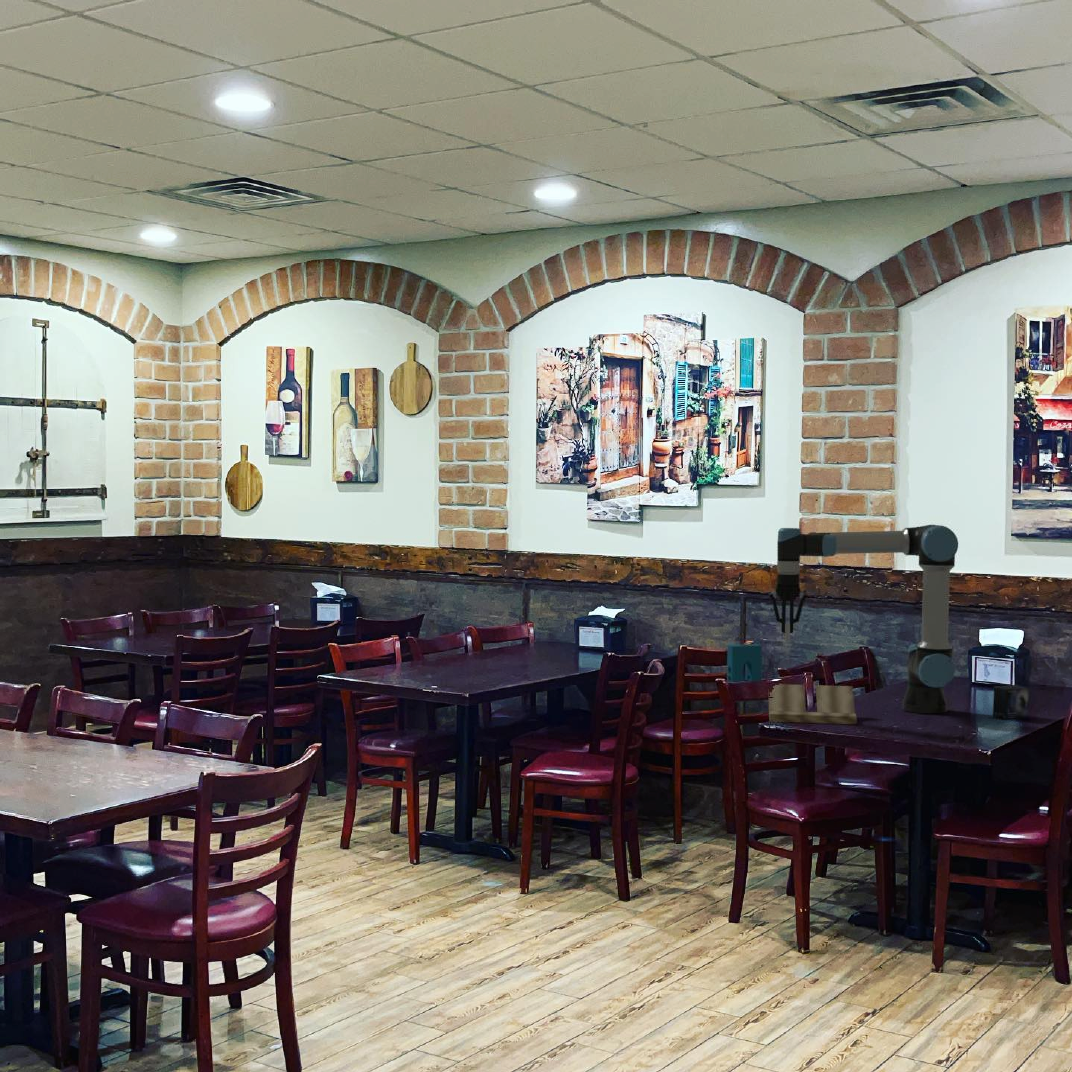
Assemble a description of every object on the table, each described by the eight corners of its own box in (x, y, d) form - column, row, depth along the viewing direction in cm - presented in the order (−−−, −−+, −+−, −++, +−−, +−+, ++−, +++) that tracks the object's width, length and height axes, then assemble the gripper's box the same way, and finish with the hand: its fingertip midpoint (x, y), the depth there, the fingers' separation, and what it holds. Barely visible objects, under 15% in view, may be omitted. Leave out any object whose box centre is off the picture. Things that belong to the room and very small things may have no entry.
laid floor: (854, 721, 450) (855, 713, 450) (856, 724, 444) (856, 716, 444) (769, 718, 454) (769, 710, 454) (769, 721, 448) (769, 713, 448)
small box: (1006, 720, 454) (1007, 689, 454) (991, 717, 460) (992, 686, 459) (1029, 717, 459) (1030, 687, 458) (1014, 714, 465) (1015, 684, 464)
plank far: (804, 690, 464) (804, 684, 462) (805, 717, 454) (805, 711, 452) (768, 689, 466) (768, 683, 464) (769, 716, 455) (769, 710, 454)
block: (755, 698, 495) (755, 643, 494) (762, 700, 490) (762, 645, 490) (725, 700, 491) (726, 645, 490) (732, 702, 486) (733, 646, 486)
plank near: (852, 691, 462) (852, 686, 460) (854, 718, 451) (854, 713, 450) (816, 690, 463) (816, 685, 462) (817, 717, 453) (818, 712, 452)
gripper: (807, 573, 464) (806, 641, 465) (768, 572, 466) (767, 640, 466) (808, 574, 456) (807, 644, 457) (769, 573, 458) (767, 643, 459)
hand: (787, 642), depth 462 cm, fingers closed
